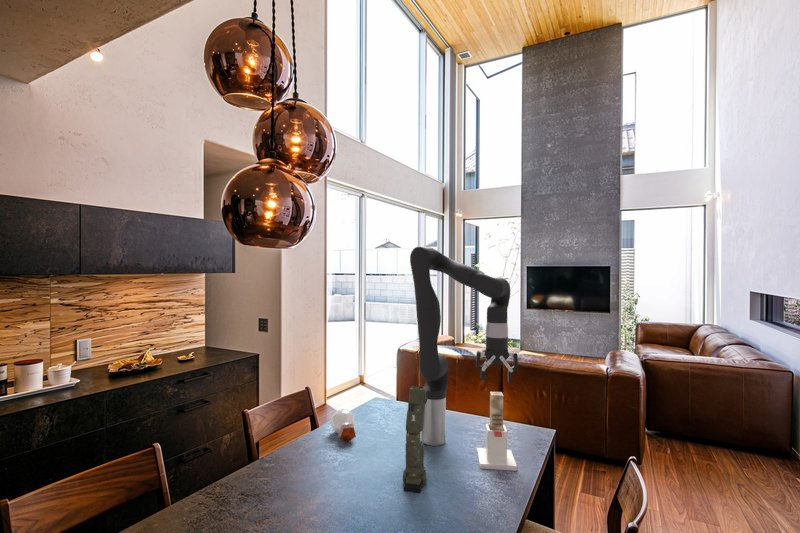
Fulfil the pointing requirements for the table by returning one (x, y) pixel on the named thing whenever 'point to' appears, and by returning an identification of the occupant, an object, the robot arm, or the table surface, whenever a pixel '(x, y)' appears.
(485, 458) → the sleeve stand
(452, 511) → the table surface
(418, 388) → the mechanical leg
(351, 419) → the potion bottle
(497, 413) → the post
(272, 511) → the table surface
